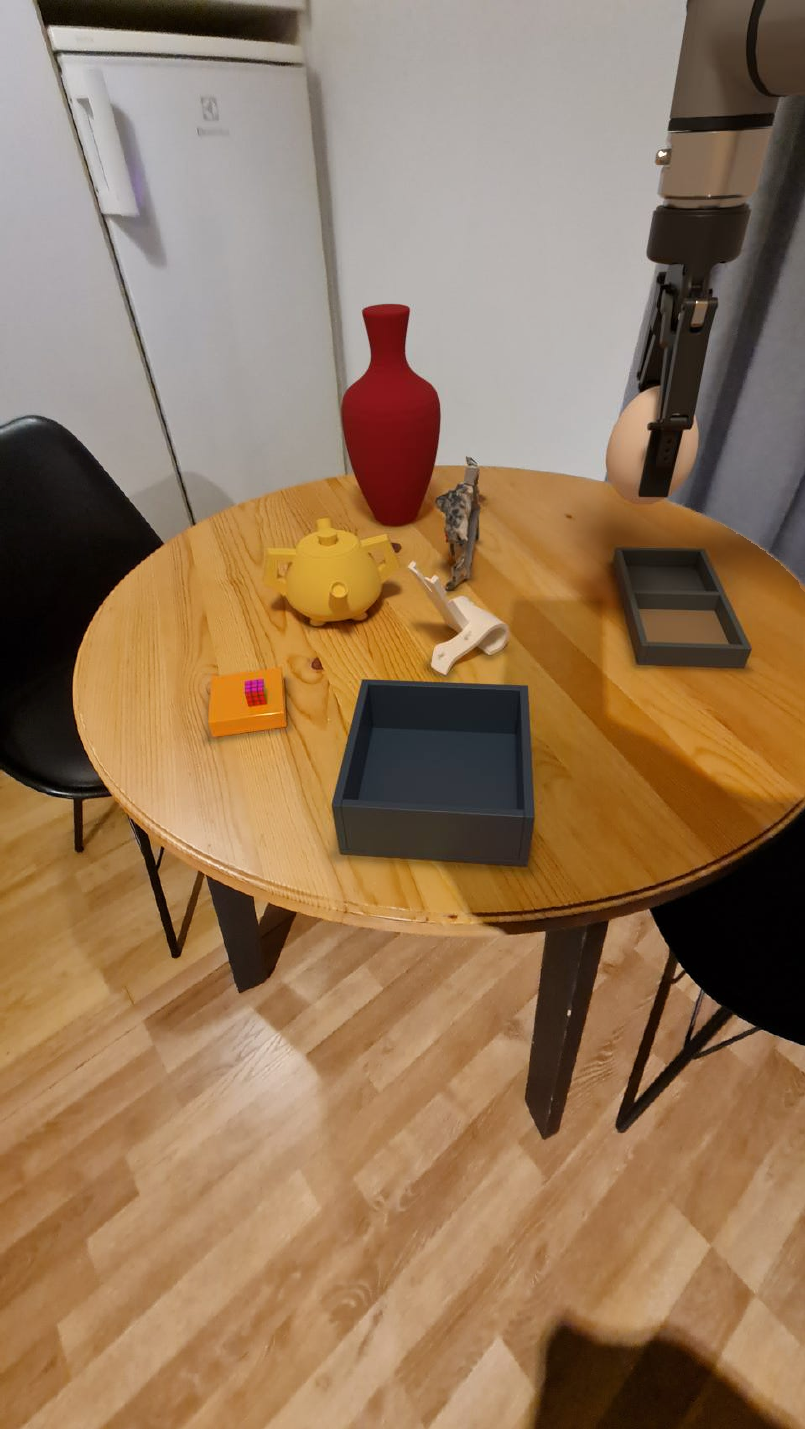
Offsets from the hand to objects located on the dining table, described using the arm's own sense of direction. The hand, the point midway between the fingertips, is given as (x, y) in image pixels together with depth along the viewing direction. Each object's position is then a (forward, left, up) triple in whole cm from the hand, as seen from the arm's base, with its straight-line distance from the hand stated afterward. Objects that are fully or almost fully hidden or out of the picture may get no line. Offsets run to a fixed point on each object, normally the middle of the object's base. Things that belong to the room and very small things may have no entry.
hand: (645, 476), depth 68 cm
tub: (+20, +27, -20) cm, 39 cm away
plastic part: (+19, +3, -20) cm, 28 cm away
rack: (-8, -6, -20) cm, 23 cm away
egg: (0, 0, -3) cm, 3 cm away
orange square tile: (+42, +16, -20) cm, 49 cm away
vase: (+31, -32, -20) cm, 48 cm away
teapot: (+36, -5, -20) cm, 41 cm away
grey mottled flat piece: (+20, -17, -20) cm, 33 cm away
